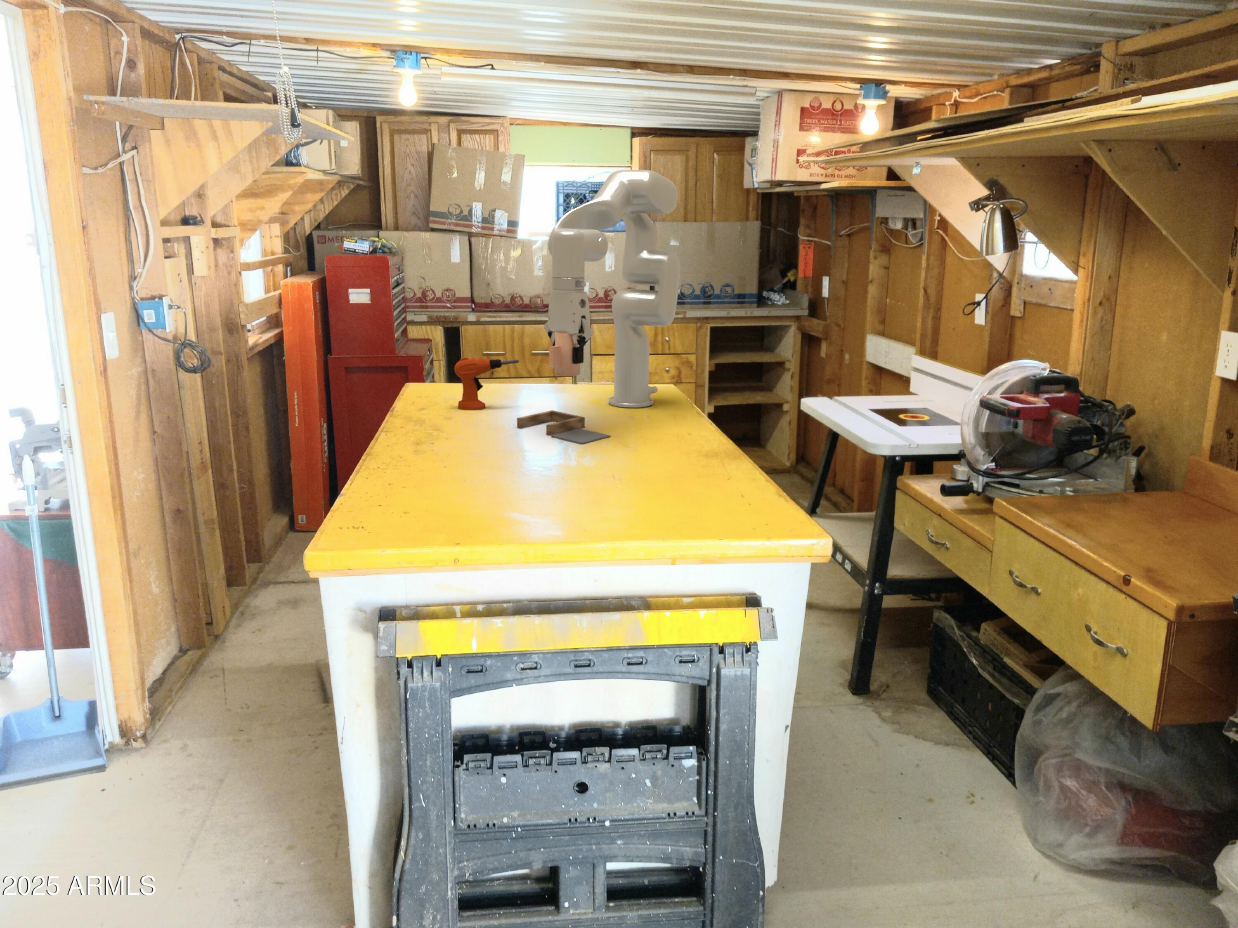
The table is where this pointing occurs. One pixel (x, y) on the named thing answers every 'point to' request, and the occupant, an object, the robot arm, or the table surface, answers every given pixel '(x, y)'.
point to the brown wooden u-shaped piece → (562, 421)
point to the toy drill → (475, 379)
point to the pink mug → (563, 355)
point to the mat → (580, 436)
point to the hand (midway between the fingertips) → (567, 360)
